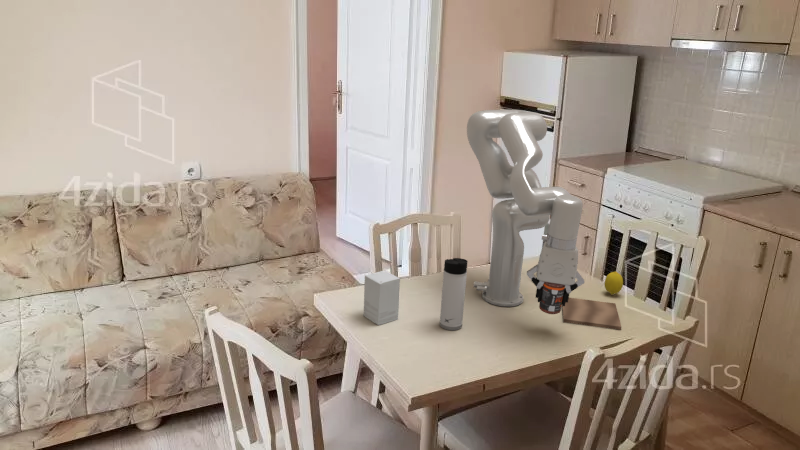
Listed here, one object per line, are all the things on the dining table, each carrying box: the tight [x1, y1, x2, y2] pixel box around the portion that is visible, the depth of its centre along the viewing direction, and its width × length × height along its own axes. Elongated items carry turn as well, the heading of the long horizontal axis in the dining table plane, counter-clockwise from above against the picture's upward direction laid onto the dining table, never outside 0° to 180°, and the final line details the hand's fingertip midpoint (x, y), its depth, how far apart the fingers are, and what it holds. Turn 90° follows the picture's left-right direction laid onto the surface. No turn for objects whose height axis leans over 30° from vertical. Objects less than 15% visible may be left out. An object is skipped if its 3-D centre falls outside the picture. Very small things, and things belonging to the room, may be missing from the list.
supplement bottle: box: [538, 282, 566, 315], centre depth 174 cm, size 6×6×11 cm
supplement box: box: [363, 270, 401, 326], centre depth 179 cm, size 7×7×13 cm
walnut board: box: [561, 297, 622, 331], centre depth 190 cm, size 16×16×1 cm
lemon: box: [604, 271, 624, 296], centre depth 203 cm, size 6×6×8 cm
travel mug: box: [439, 257, 469, 331], centre depth 175 cm, size 6×7×20 cm
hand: (551, 301), depth 175 cm, fingers closed on supplement bottle, 6 cm apart
